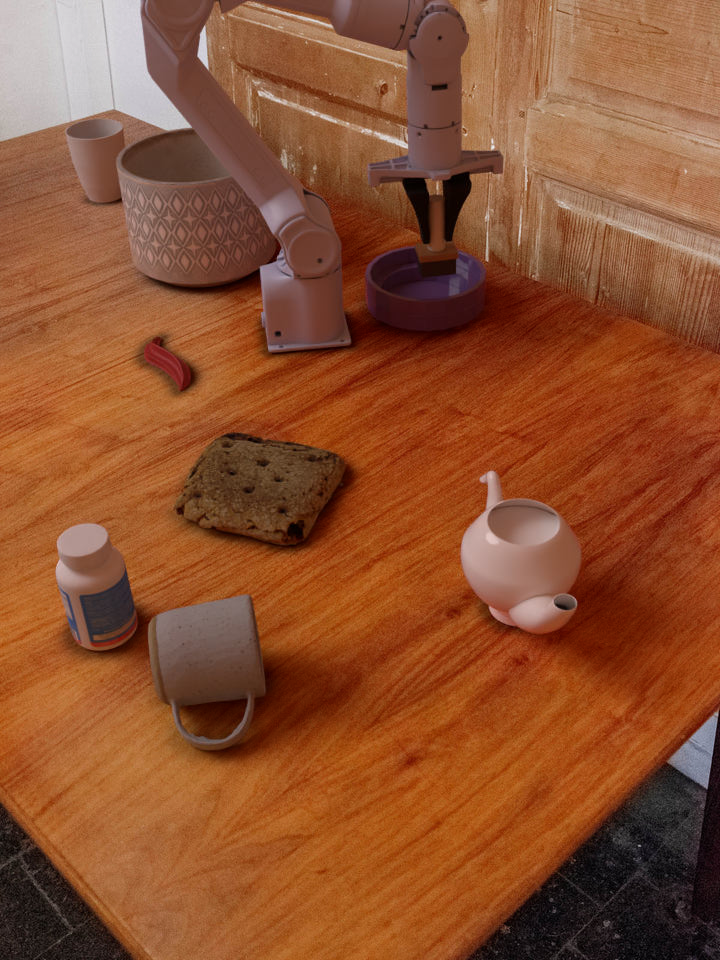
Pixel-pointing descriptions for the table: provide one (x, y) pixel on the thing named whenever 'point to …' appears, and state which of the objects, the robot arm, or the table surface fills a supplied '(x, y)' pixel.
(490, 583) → the teapot
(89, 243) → the table surface
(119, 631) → the pill bottle
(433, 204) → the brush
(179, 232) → the planter
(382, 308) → the bowl
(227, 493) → the pastry
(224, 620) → the ceramic mug
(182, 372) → the cayenne pepper
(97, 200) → the cup
